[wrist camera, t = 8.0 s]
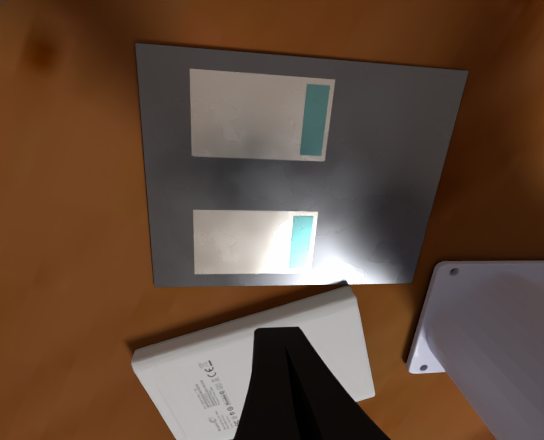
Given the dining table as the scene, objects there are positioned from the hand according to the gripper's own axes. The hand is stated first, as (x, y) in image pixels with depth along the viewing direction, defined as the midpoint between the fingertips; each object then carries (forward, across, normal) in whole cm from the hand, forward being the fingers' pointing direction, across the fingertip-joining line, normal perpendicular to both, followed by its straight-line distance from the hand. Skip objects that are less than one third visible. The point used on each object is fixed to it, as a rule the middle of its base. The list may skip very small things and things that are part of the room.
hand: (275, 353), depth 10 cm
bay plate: (+7, -2, -3) cm, 8 cm away
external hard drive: (+8, -1, +8) cm, 12 cm away
